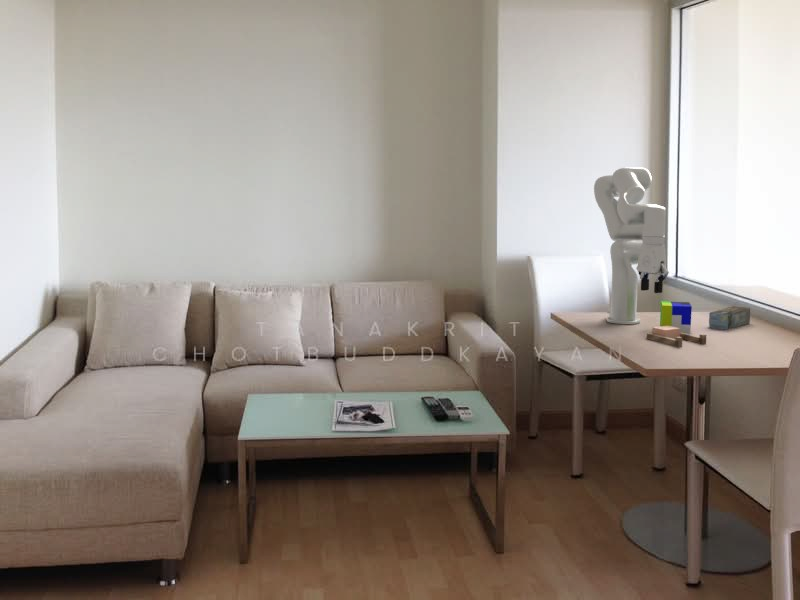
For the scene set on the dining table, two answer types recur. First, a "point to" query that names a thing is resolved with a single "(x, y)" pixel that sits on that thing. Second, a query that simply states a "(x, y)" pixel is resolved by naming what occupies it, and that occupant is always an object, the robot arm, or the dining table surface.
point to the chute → (678, 338)
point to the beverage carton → (729, 317)
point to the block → (667, 331)
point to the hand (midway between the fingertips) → (651, 291)
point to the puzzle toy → (676, 315)
